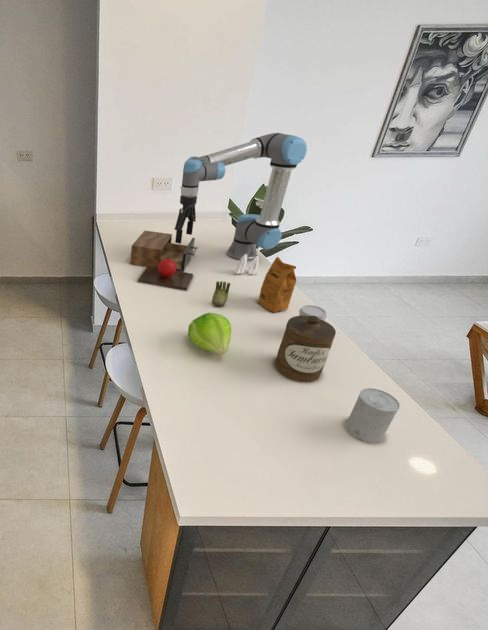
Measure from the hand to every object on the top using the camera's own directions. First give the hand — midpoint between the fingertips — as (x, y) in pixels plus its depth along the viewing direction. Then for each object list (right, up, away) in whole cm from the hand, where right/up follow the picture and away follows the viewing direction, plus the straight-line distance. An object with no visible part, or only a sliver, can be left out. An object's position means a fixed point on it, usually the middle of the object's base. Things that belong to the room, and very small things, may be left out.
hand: (183, 238), depth 207 cm
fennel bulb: (+11, -33, -16) cm, 39 cm away
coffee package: (+35, -34, -18) cm, 52 cm away
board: (-7, -19, +7) cm, 22 cm away
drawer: (+2, -8, +24) cm, 26 cm away
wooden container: (+25, -57, -56) cm, 84 cm away
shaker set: (+35, -16, +11) cm, 40 cm away
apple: (-7, -18, +6) cm, 20 cm away
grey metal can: (+32, -72, -81) cm, 113 cm away
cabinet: (-10, -6, +30) cm, 32 cm away
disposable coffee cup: (+38, -46, -39) cm, 71 cm away
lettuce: (-3, -50, -44) cm, 67 cm away
